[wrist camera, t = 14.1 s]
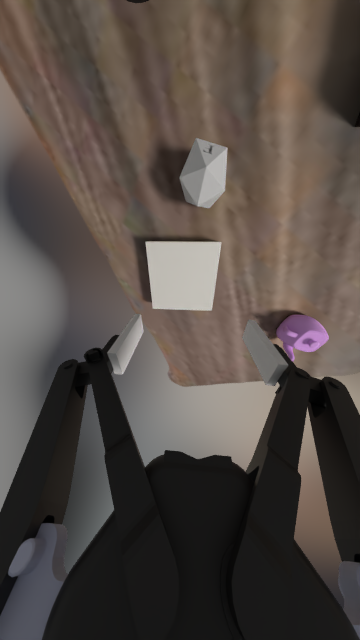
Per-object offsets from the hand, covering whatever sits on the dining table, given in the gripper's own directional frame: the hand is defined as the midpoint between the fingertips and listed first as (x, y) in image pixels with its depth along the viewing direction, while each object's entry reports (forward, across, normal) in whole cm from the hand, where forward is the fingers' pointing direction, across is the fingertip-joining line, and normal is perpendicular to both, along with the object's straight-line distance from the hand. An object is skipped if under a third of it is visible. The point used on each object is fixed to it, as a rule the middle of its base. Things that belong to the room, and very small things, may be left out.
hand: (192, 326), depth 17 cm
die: (+27, +1, +19) cm, 33 cm away
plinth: (+27, -2, -1) cm, 27 cm away
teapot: (+27, +34, -18) cm, 47 cm away
